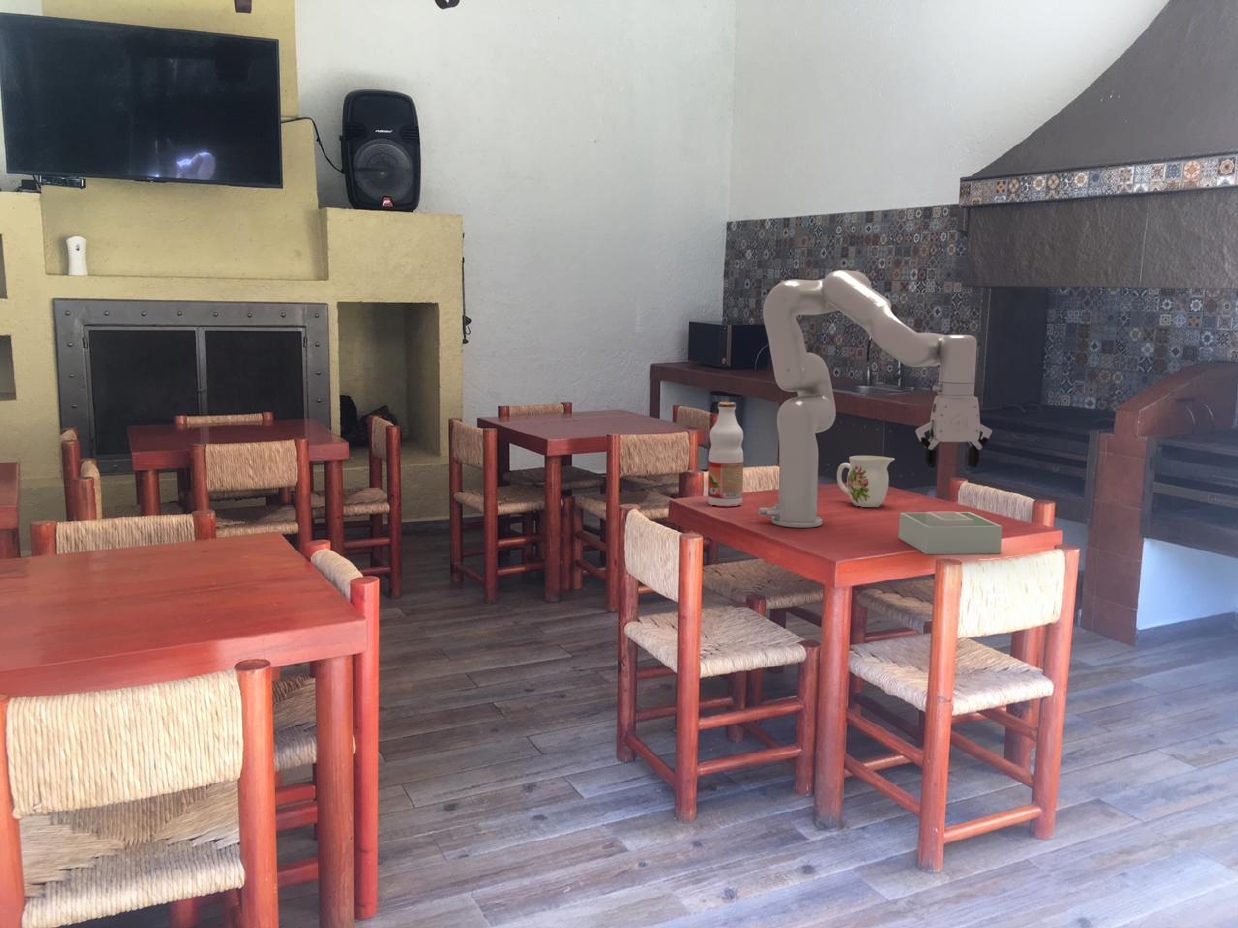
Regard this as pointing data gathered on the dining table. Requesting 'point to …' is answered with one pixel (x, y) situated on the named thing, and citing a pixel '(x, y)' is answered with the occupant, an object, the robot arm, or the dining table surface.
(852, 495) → the pitcher
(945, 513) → the small tote
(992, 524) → the big crate
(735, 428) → the fruit juice
